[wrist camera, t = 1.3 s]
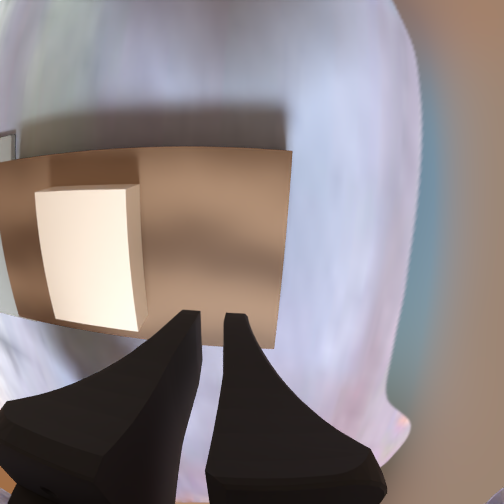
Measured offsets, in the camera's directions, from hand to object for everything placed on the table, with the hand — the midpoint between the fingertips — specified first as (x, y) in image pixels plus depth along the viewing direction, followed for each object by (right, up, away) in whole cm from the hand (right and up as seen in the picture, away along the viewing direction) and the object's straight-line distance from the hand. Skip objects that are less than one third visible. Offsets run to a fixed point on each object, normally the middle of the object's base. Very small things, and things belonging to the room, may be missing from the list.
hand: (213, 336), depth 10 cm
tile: (-8, +3, +7) cm, 11 cm away
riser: (-7, +4, +10) cm, 13 cm away
